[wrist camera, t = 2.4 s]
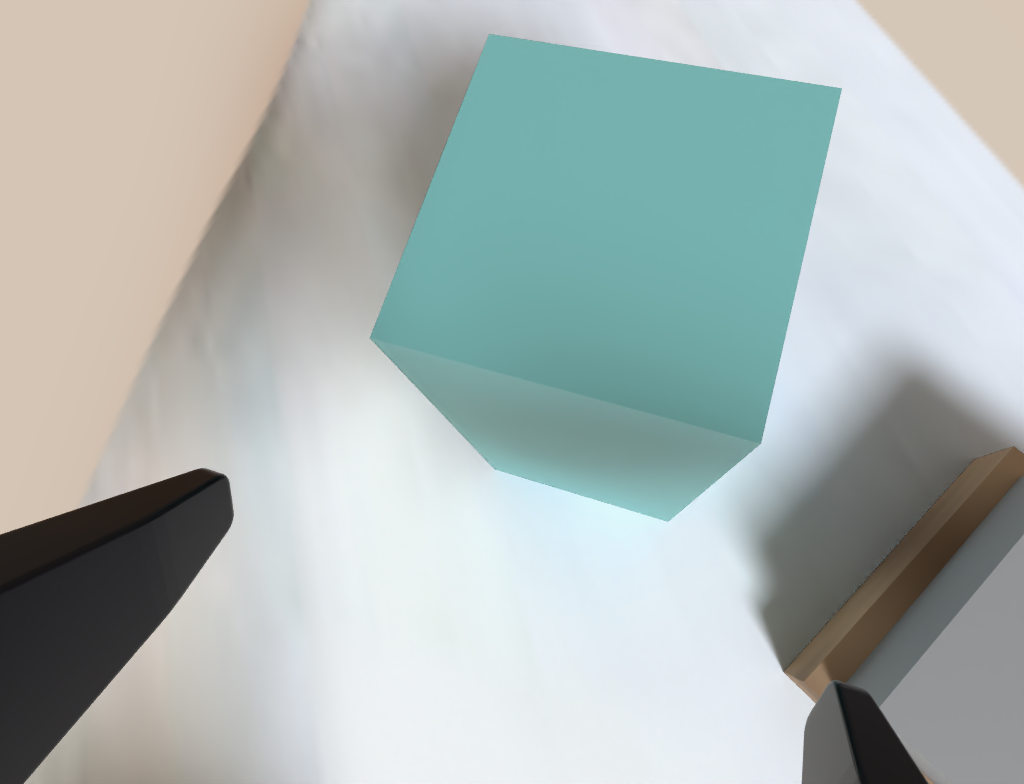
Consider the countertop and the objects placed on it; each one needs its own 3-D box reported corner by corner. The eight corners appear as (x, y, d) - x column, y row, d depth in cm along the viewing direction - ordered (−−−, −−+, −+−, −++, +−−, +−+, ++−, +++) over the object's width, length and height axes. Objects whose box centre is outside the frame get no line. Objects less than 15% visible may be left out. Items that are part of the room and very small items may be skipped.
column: (668, 521, 21) (761, 443, 9) (494, 468, 22) (370, 337, 10) (711, 352, 22) (841, 88, 10) (545, 312, 23) (489, 33, 11)
